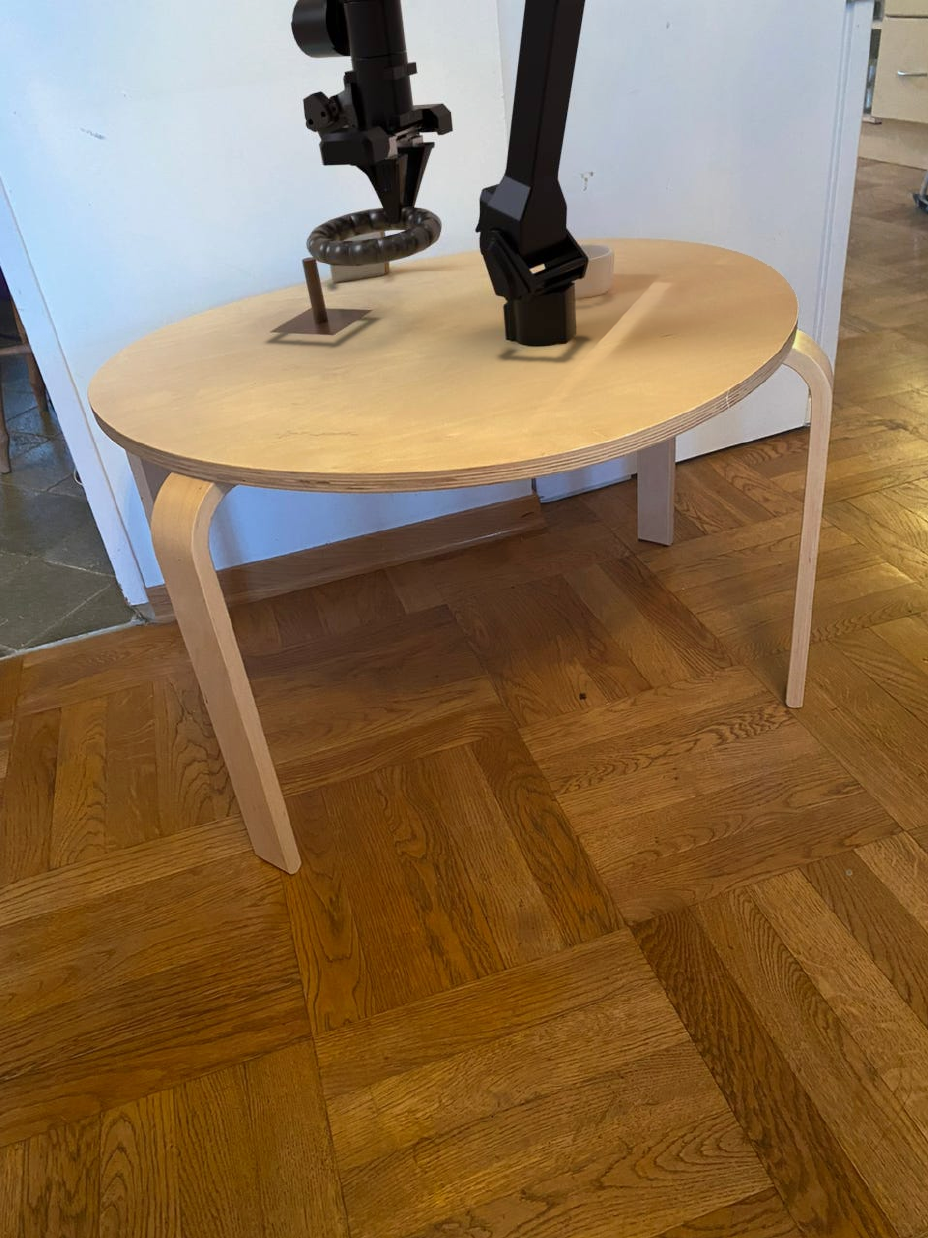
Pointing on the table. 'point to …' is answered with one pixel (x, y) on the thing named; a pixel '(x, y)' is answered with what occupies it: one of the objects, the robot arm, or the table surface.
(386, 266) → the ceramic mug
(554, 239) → the robot arm
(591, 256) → the teacup
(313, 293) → the peg stand
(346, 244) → the ring
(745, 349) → the table surface
